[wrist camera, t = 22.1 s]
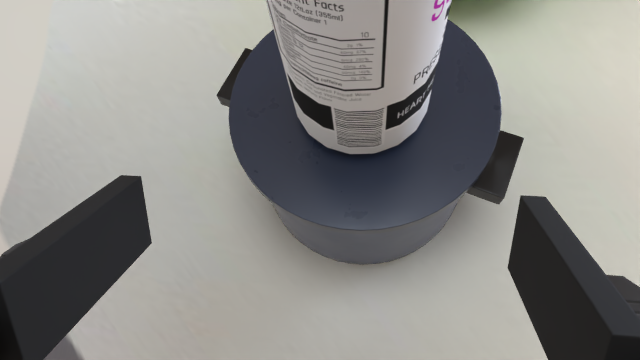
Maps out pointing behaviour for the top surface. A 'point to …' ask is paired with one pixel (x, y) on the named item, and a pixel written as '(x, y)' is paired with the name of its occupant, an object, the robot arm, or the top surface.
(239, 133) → the pot
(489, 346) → the top surface
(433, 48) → the supplement can
